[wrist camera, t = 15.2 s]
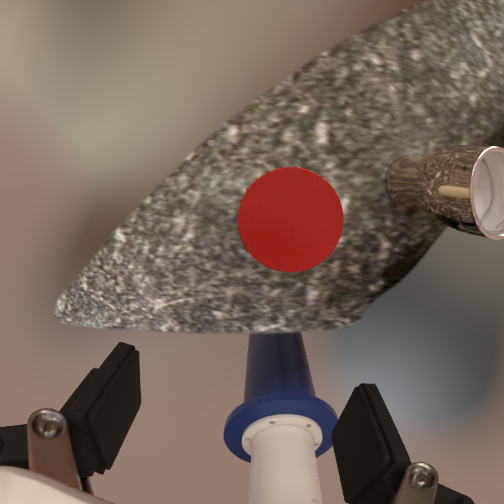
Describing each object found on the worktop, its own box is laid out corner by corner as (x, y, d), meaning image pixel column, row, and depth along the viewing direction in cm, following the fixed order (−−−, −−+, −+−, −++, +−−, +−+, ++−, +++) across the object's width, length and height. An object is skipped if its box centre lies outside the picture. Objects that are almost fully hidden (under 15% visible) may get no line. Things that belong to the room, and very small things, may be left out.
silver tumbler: (431, 214, 29) (521, 243, 15) (381, 212, 29) (464, 242, 15) (433, 155, 27) (525, 152, 13) (381, 148, 28) (467, 134, 13)
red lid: (256, 276, 22) (256, 285, 20) (225, 185, 20) (222, 185, 18) (347, 248, 21) (354, 255, 19) (321, 155, 19) (327, 153, 17)
